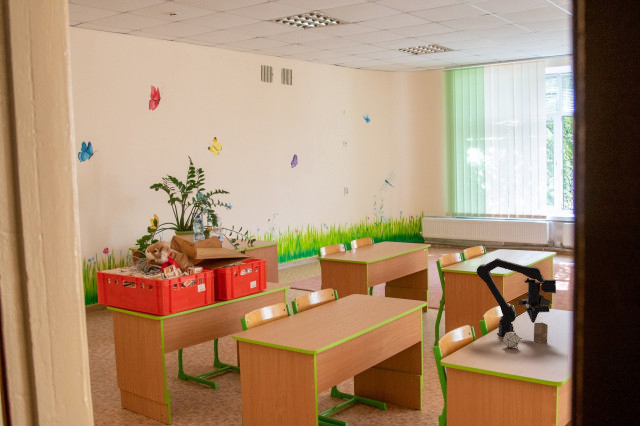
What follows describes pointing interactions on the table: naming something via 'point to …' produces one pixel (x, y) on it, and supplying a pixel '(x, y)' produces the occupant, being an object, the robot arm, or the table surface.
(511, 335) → the game die
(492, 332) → the table surface
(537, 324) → the brown rectangular block
